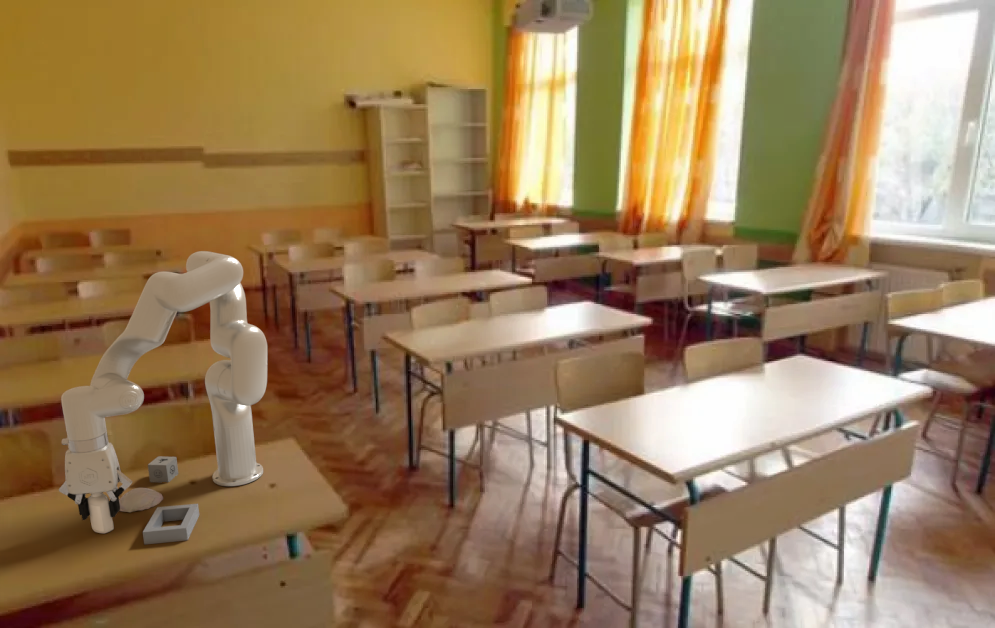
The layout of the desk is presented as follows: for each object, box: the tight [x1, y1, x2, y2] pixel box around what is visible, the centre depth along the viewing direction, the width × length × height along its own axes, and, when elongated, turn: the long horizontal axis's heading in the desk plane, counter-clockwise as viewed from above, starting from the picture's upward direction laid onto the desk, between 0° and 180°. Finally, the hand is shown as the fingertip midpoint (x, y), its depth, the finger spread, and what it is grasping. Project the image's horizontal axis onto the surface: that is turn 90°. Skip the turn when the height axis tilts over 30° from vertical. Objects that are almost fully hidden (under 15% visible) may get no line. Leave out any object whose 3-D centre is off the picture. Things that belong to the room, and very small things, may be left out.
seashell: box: [119, 487, 164, 513], centre depth 171 cm, size 10×6×10 cm
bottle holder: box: [142, 503, 200, 545], centre depth 159 cm, size 11×9×3 cm
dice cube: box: [147, 455, 179, 484], centre depth 183 cm, size 5×5×5 cm
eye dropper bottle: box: [87, 492, 115, 534], centre depth 158 cm, size 4×6×12 cm
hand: (100, 515), depth 158 cm, fingers closed on eye dropper bottle, 5 cm apart
